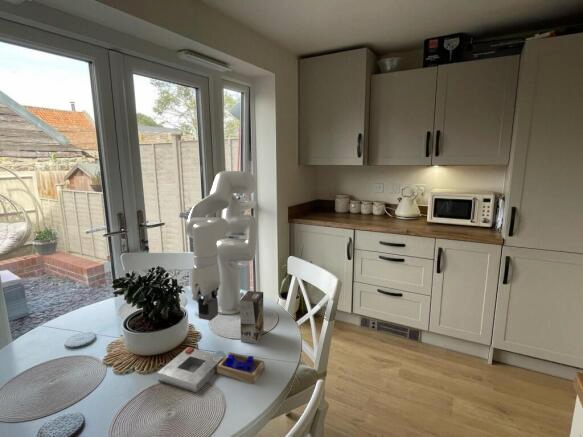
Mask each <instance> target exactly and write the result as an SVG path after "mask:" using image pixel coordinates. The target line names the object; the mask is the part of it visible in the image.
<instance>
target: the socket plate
mask: <svg viewBox="0 0 583 437" xmlns="http://www.w3.org/2000/svg"><path fill="white" fill-rule="evenodd" d="M224 358H225V357H224V356H223V355H219V354H215V353H211V352H208V351H205V350H201V349H196V348H194V347H192V346H188V347H187V348H185V349H184V350H183V351H182V352H180V353H178V355H177V356H175V357H174V358H173V359H172V360H171V361H170V362H168V363H167V364H166V365H165V366H164V367H162V368H161V369H160V370H158V371H157V381H159V382H160V381H161V382H163V383H166V384H170V385H171V386H175V387H178V388H182V389H186V390H187V391H188V390H189V391H190V392H194V393H198V392H199V390H200V389H201V388H203V386H204V385H205V384H206V383H207V382H208V381H209V380H210V379H211V378H212V377H213V376H214V374H216V373H217V365H218V364H219V363H220V362H221V361H222V360H223V359H224Z"/></svg>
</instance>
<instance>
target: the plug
mask: <svg viewBox="0 0 583 437" xmlns="http://www.w3.org/2000/svg"><path fill="white" fill-rule="evenodd" d="M206 303H208V314H207V315H204V314H200V313H199V312H198V319H199V320H200V319H201V320H205V321H210V322H211V321H212V320H213V319H214V318H216V317H217V316H218V315H219V313H218V297H217V298H212V292H211V293H209V294H208V295H207V300H206ZM197 306H198V307H197V308H198V311H199V303H197Z"/></svg>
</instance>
